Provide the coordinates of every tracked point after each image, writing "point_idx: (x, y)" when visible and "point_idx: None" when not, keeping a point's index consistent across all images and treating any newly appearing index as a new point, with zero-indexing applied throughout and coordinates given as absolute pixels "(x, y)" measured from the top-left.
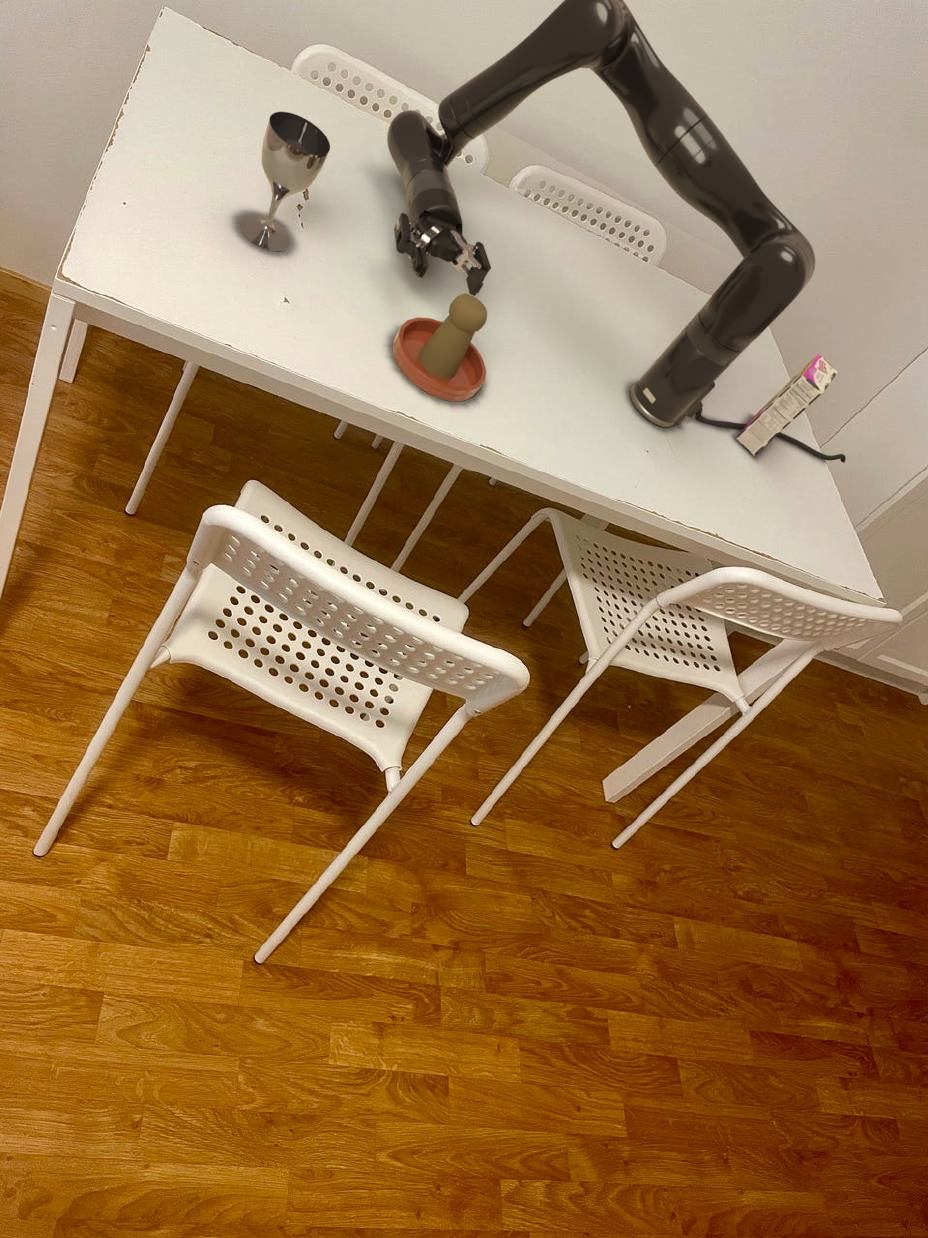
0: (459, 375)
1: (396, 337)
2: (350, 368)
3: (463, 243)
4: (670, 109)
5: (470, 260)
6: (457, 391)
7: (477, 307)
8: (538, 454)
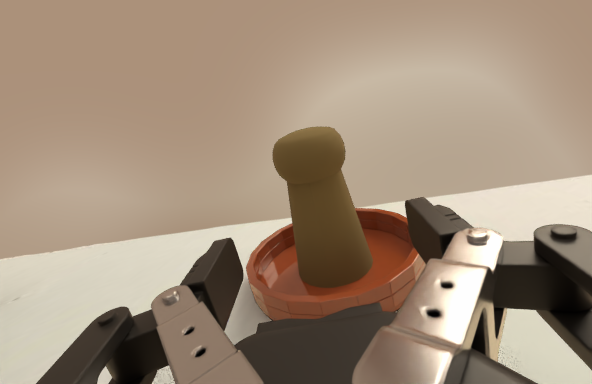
0: (295, 263)
1: None
2: (474, 208)
3: (186, 354)
4: None
5: (197, 302)
6: None
7: (298, 130)
8: (217, 234)
